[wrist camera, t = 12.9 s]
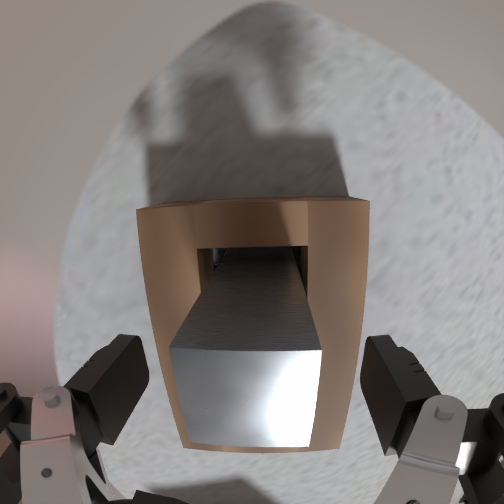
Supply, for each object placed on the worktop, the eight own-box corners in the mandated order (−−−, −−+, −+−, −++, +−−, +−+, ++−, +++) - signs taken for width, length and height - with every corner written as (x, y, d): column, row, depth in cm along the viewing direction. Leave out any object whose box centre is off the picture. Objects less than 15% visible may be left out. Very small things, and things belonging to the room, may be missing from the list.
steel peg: (291, 247, 19) (321, 350, 7) (290, 305, 20) (308, 446, 8) (228, 247, 19) (168, 347, 7) (231, 305, 20) (189, 441, 8)
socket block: (349, 196, 18) (369, 200, 14) (332, 415, 22) (339, 448, 18) (161, 203, 19) (136, 209, 15) (193, 415, 23) (183, 447, 19)
